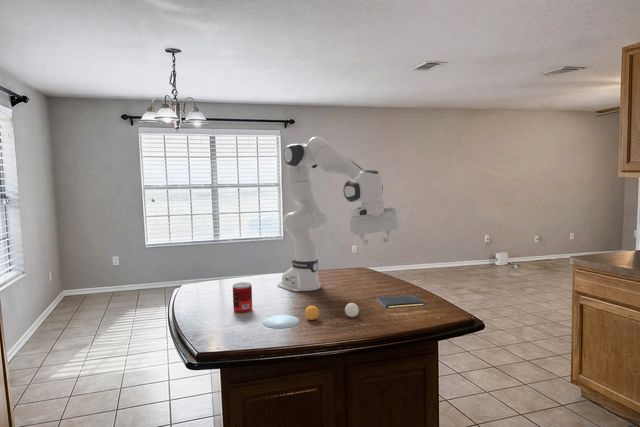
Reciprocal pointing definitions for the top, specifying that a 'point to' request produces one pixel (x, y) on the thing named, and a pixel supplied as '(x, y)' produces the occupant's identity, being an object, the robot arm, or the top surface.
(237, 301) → the canned food
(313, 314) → the orange ball
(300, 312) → the top surface
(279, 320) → the light blue disc
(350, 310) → the white ping pong ball
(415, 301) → the wallet
